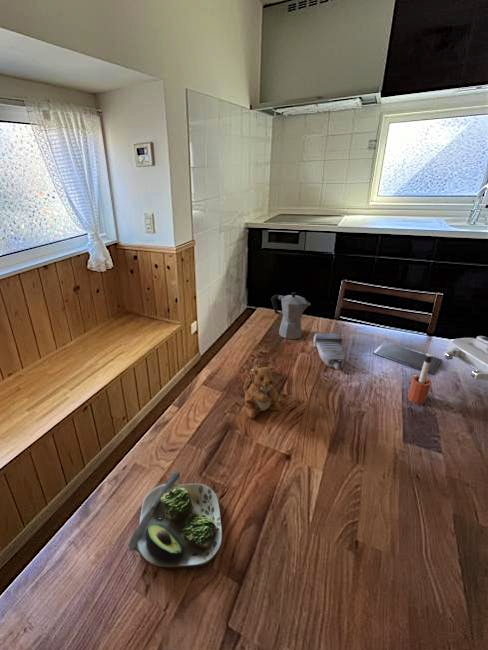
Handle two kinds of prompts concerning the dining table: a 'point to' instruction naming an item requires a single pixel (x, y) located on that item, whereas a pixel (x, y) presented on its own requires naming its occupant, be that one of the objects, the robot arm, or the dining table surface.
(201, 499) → the salad plate
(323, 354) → the handheld device
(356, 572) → the dining table surface
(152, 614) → the dining table surface
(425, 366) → the stylus
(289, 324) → the coffeepot
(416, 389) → the pen cup
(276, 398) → the stuffed squirrel
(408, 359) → the tablet
